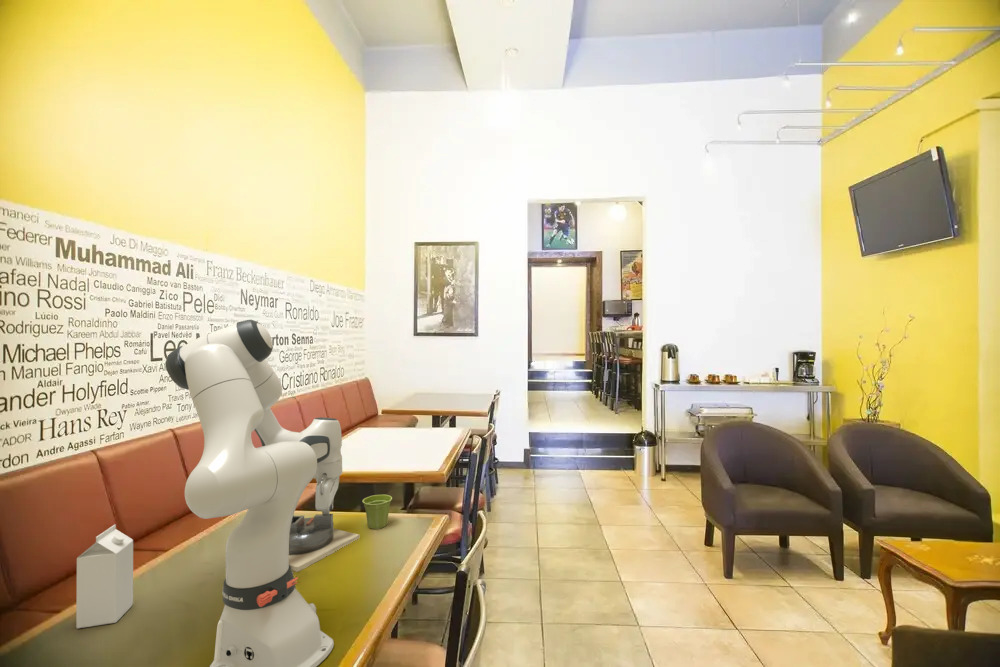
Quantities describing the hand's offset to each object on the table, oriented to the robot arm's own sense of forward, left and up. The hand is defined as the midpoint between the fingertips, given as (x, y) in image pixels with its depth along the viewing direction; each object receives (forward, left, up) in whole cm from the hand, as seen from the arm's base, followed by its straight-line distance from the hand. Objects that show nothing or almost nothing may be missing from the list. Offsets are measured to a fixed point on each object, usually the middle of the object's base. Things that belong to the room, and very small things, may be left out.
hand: (328, 514), depth 137 cm
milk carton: (+13, +50, -8) cm, 52 cm away
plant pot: (-7, -14, -8) cm, 17 cm away
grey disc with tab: (+2, +7, -6) cm, 9 cm away
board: (+2, +7, -8) cm, 10 cm away
